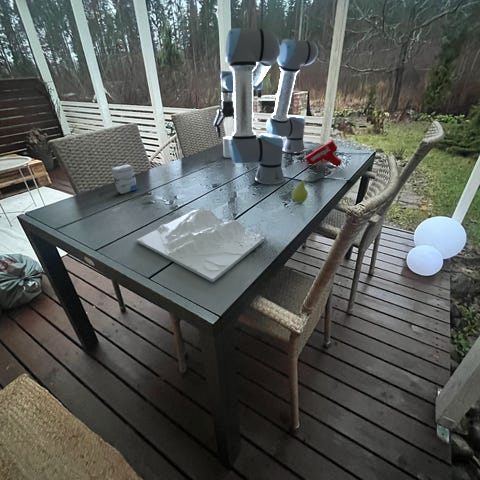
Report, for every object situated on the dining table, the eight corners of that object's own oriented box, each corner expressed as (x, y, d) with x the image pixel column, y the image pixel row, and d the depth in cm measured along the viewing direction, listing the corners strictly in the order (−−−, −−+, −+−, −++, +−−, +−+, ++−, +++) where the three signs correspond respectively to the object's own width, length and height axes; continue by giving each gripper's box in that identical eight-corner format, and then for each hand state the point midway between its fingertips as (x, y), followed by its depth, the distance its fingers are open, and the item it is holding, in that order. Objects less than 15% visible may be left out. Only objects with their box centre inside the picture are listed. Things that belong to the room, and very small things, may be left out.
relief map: (212, 282, 77) (211, 268, 74) (137, 242, 94) (134, 229, 91) (264, 240, 95) (265, 227, 92) (193, 213, 113) (192, 201, 110)
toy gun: (345, 161, 161) (332, 139, 157) (345, 163, 157) (332, 140, 153) (317, 176, 171) (305, 156, 167) (317, 178, 167) (304, 158, 163)
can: (232, 154, 188) (232, 136, 182) (236, 157, 182) (236, 138, 176) (222, 155, 186) (221, 137, 179) (226, 158, 180) (225, 139, 173)
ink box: (133, 186, 138) (127, 163, 132) (137, 189, 135) (132, 165, 129) (116, 191, 133) (110, 167, 127) (121, 194, 130) (114, 170, 124)
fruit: (288, 200, 123) (290, 174, 116) (302, 197, 125) (305, 172, 119) (296, 206, 118) (299, 179, 111) (310, 203, 120) (314, 177, 114)
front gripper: (243, 98, 173) (243, 133, 184) (206, 101, 164) (208, 137, 175) (248, 99, 167) (248, 136, 179) (210, 102, 158) (213, 140, 170)
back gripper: (247, 63, 200) (246, 95, 212) (257, 62, 180) (256, 98, 191) (256, 63, 202) (256, 95, 213) (268, 62, 181) (266, 98, 193)
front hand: (228, 136), depth 177 cm, fingers open, 13 cm apart
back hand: (256, 96), depth 202 cm, fingers open, 13 cm apart
